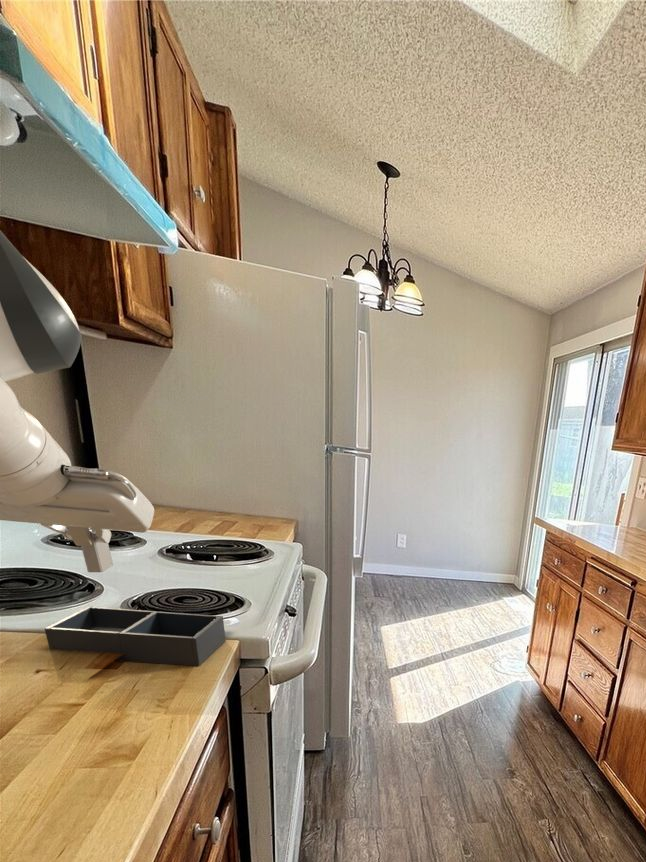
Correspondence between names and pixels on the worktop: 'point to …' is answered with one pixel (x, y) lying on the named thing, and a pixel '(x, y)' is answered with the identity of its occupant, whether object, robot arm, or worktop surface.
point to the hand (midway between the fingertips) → (90, 537)
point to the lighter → (91, 549)
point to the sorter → (140, 635)
